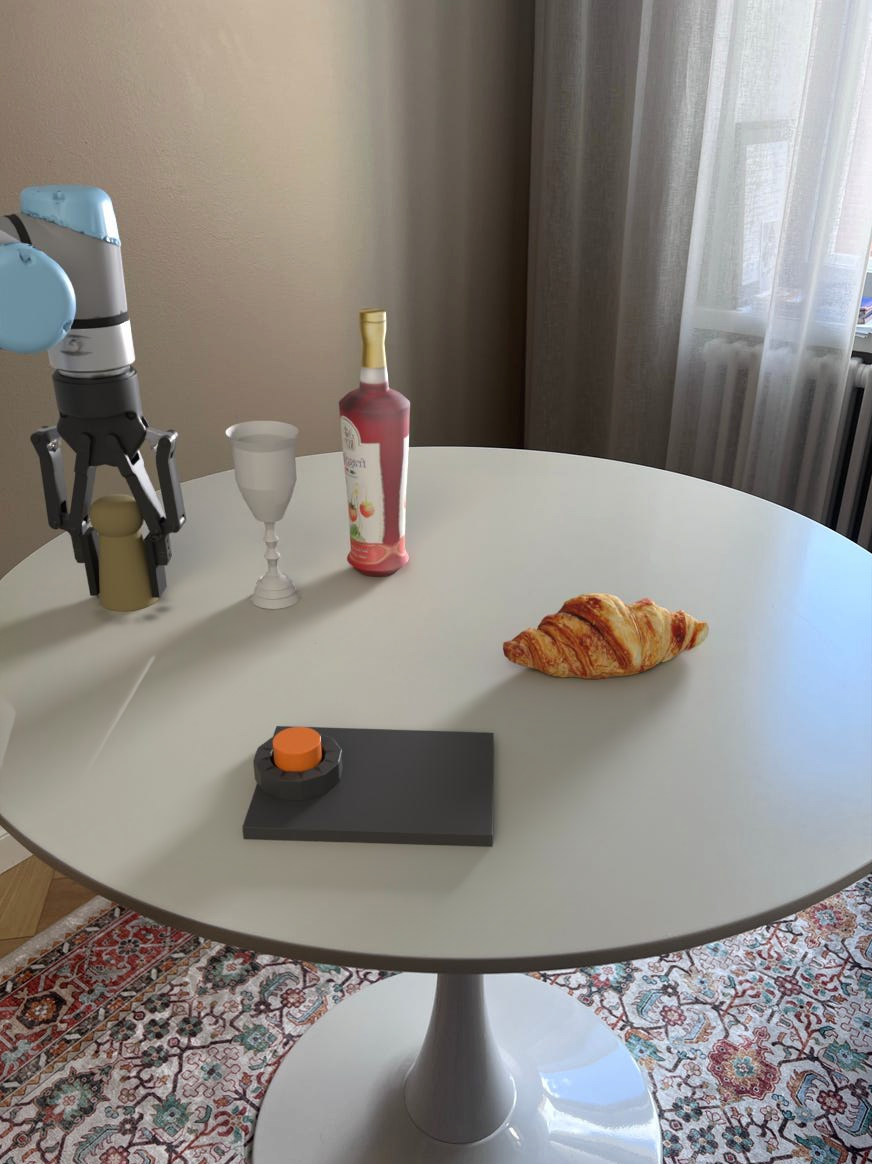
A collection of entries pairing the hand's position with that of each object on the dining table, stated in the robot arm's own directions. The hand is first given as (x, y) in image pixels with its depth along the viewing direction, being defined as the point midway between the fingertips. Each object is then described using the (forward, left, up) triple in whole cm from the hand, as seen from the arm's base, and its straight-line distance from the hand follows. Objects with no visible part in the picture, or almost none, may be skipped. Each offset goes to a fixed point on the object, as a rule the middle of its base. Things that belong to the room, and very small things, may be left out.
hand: (129, 590), depth 106 cm
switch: (+23, -31, +2) cm, 39 cm away
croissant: (+49, -10, -1) cm, 50 cm away
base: (+29, -31, -1) cm, 42 cm away
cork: (0, 0, -1) cm, 1 cm away
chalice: (+15, +1, -1) cm, 15 cm away
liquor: (+25, +9, -1) cm, 27 cm away
